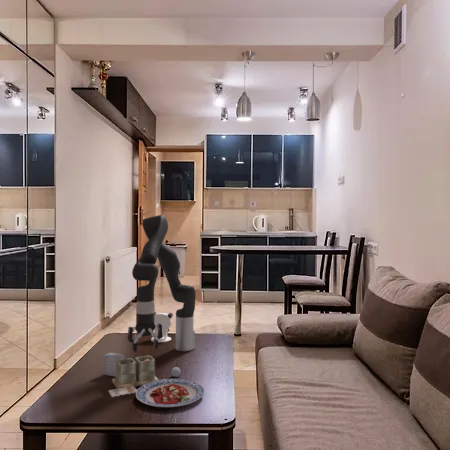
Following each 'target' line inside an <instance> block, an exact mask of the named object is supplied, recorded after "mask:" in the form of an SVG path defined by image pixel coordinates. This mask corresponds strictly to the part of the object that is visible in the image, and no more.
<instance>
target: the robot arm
mask: <svg viewBox="0 0 450 450" xmlns="http://www.w3.org/2000/svg"><path fill="white" fill-rule="evenodd" d="M142 229H143V231H144V234H145V236H146V237H147V239H148V241H146V242H145V244H144V246H143V248H142V249H141V250H142V251H141V255H140V257H139V258H138V259H137V261H136V262H135V264H134V265H133V268H132V271H131V273H132V277H133V279H134V280H135V281H142V282H143V281H145V282H146V281H147V282H148V284H146V285H142V286H139V287H138V288H137V289H136V307H135V311H136V312H135V326H130V325H129V326H128V328H127V341H128V342H129V343H131V344H132V346H131V348H132V351H133V352H134V353H137V351H138V349H137V348H138V343H137V342H138V340H139V339H140V338H141V337H142V338H143V337H149V336H152V338H154V342H153V349H154V350H157V348H158V347H159V342H158V340H159V339H160V338H162V337H163V336H162V325H161V324H160V323H158V324H156V325H155V324H154V315H155V312H156V311H155V310H156V308H155V289H156V288H155V286H156V282H157V279H158V276H159V267H158V265H157V264H156V263H157V261H158V262H159V264H160V267H161V269H162V271H163V273H164V275H165V278H166V280H167V282H168V286H169V289H170V293H171V296H172V298H173V299H174V301H175V302H177V303H182V304H183V305H182V308H178V309H177V310H175V351H177V352H178V351H179V352H188V351H189V352H190V351H192V350H196V349H195V348H196V344H195V343H196V331H195V329H194V322H195V321H194V314H195V309H196V298H197V297H196V295H197V294H196V289H195V287H194V286H193V285H188V284H182V283H181V281H180V278H179V273H180V269H181V263H180V260H179V257H178V255H177V253H176V251H175V250H173V248H171V247H170V246H168V245H167V244H165V243H164V240H165V237H166V236H167V234H168V231H169V223H168V220H167V217H166V216H165V215H162V214H159V215H155V216H150V217H147V218H144V219H143V220H142ZM155 327H156V328H157V329H158V335H157V336H156V334H155V333H154V329H155ZM135 331H136V332H135ZM134 332H135V334H134V336H133V333H134Z"/></svg>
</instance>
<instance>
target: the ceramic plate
mask: <svg viewBox="0 0 450 450" xmlns="http://www.w3.org/2000/svg"><path fill="white" fill-rule="evenodd" d="M204 394H205V388H204V387H203V386H202V385H201V384H200V383H198V382H195V381H194V380H190V379H182V378H165V379H158V380H157V381H153V382H150V383H147V384H145V385H140V387H138V389H137V391H136V393H135V398H136V399H137V400H138V401H139V402H141V403H142V404H145V405H147V406H152V407H156V408H175V407H176V408H177V407H183V406H187V405H191V404H192V403H195V402H198V401H199V400H200V399H202V397H203V396H204ZM183 401H184V402H183ZM179 402H180V403H179ZM176 403H178V404H176Z"/></svg>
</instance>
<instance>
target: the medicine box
mask: <svg viewBox="0 0 450 450" xmlns="http://www.w3.org/2000/svg"><path fill="white" fill-rule="evenodd" d="M122 359H125V354H121V353H117V352H116V353H115V352H108V353H106V354H104V355H103V375H105V376H109V377H114V378H116V360H122Z"/></svg>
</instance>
